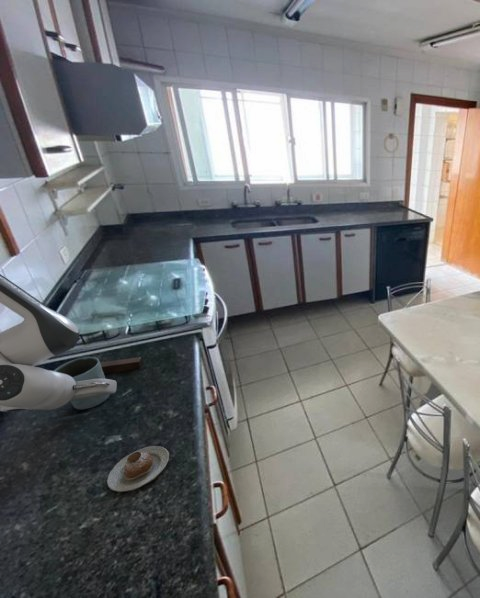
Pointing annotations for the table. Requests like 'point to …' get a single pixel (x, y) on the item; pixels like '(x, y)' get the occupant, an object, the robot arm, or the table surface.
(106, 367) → the bar
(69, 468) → the table surface
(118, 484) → the pastry
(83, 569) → the table surface
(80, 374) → the grey green pot
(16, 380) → the robot arm
